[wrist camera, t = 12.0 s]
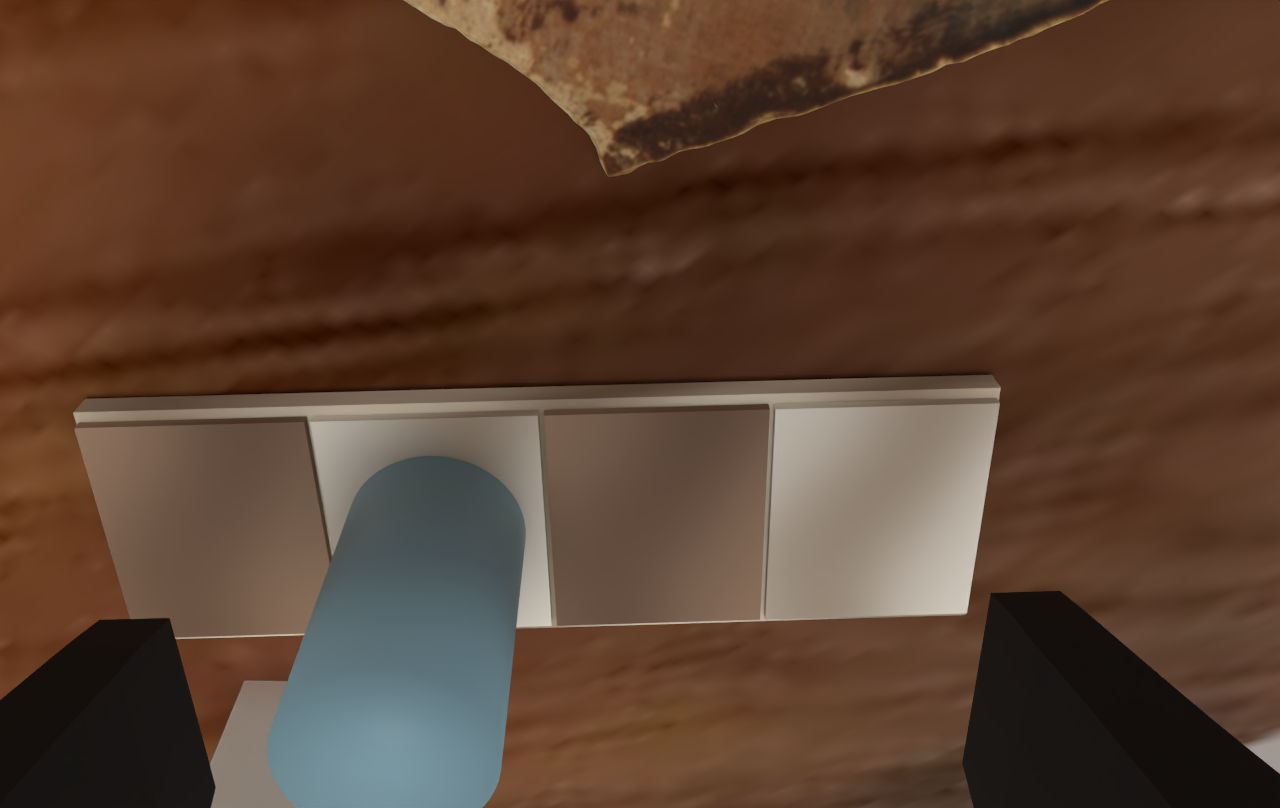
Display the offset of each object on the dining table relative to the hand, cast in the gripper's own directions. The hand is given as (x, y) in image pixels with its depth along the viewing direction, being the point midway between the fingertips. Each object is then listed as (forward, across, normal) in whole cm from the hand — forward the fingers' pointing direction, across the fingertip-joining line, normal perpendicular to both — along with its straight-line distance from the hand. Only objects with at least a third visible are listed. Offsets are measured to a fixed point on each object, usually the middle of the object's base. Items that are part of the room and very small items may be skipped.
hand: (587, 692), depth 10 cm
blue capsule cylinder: (+9, +3, +4) cm, 11 cm away
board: (+10, +1, +4) cm, 11 cm away
